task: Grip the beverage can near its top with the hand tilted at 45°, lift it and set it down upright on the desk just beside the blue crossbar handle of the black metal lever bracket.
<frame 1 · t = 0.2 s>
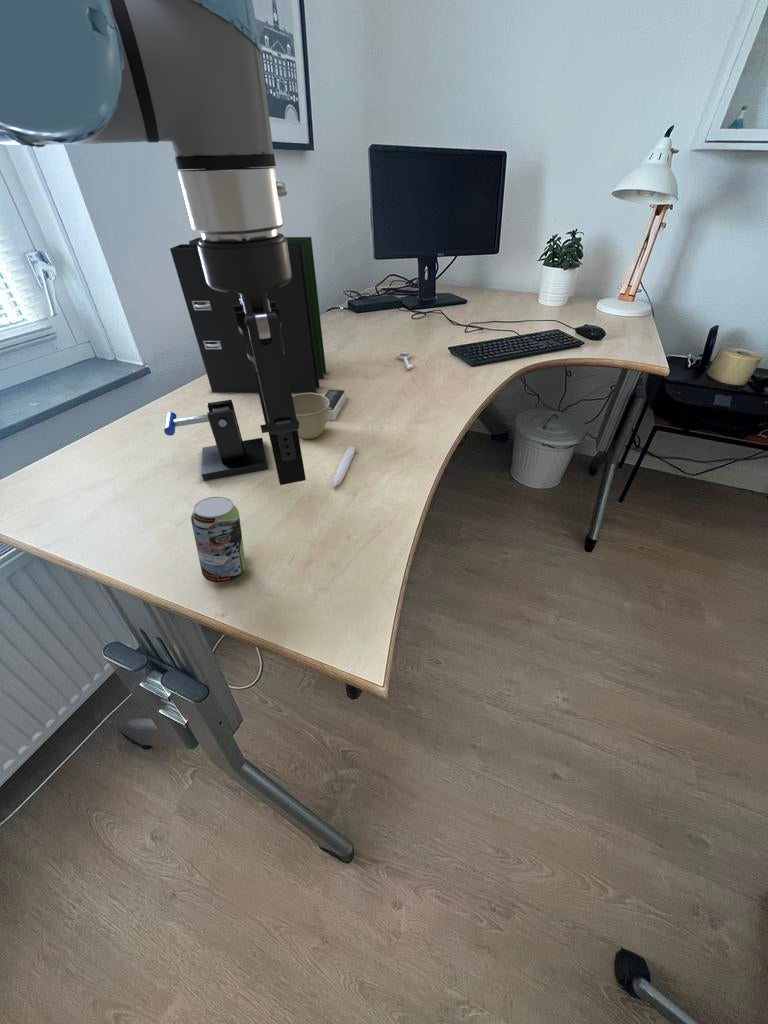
hand: (283, 449, 50), 21 cm above the table, tool pointing down, fingers open, 13 cm apart
binder: (271, 383, 115), on the table
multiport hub: (331, 409, 103), on the table
lever: (198, 419, 79), point 10 cm above the table, hinge at 0.0°
flower pot: (309, 434, 94), on the table
beverage can: (230, 571, 64), on the table
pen: (344, 470, 83), on the table
bracket: (235, 461, 86), on the table
key: (405, 362, 124), on the table
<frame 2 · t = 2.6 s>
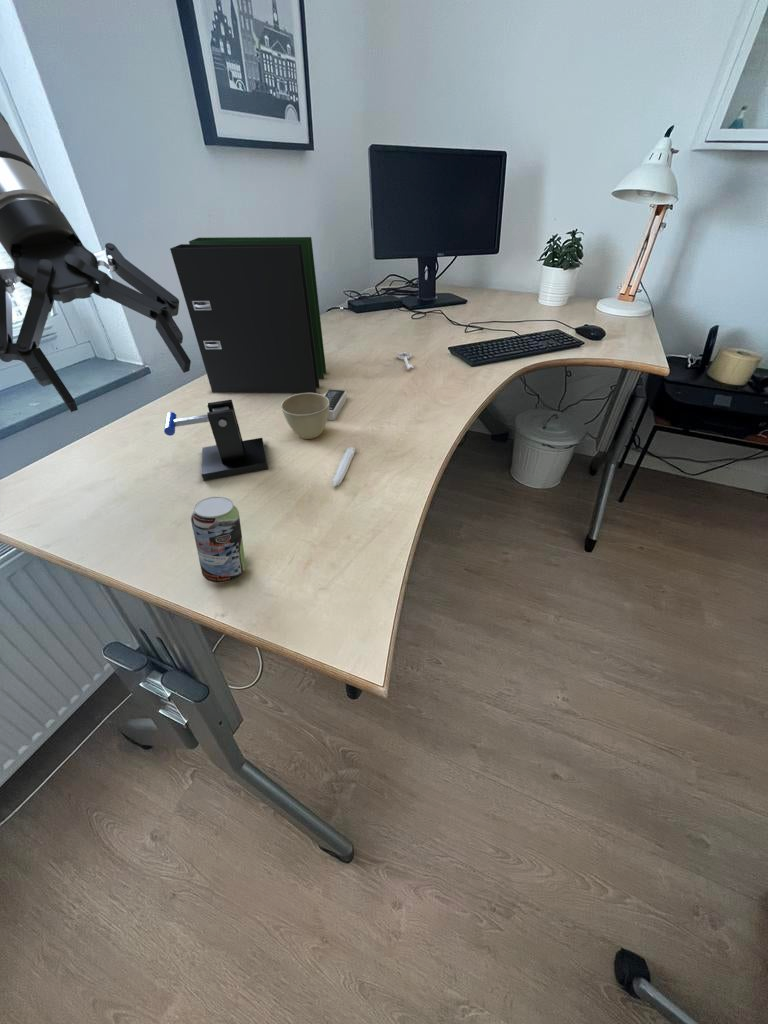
hand: (134, 385, 52), 26 cm above the table, tool tilted 45°, fingers open, 13 cm apart
nothing on the table moved.
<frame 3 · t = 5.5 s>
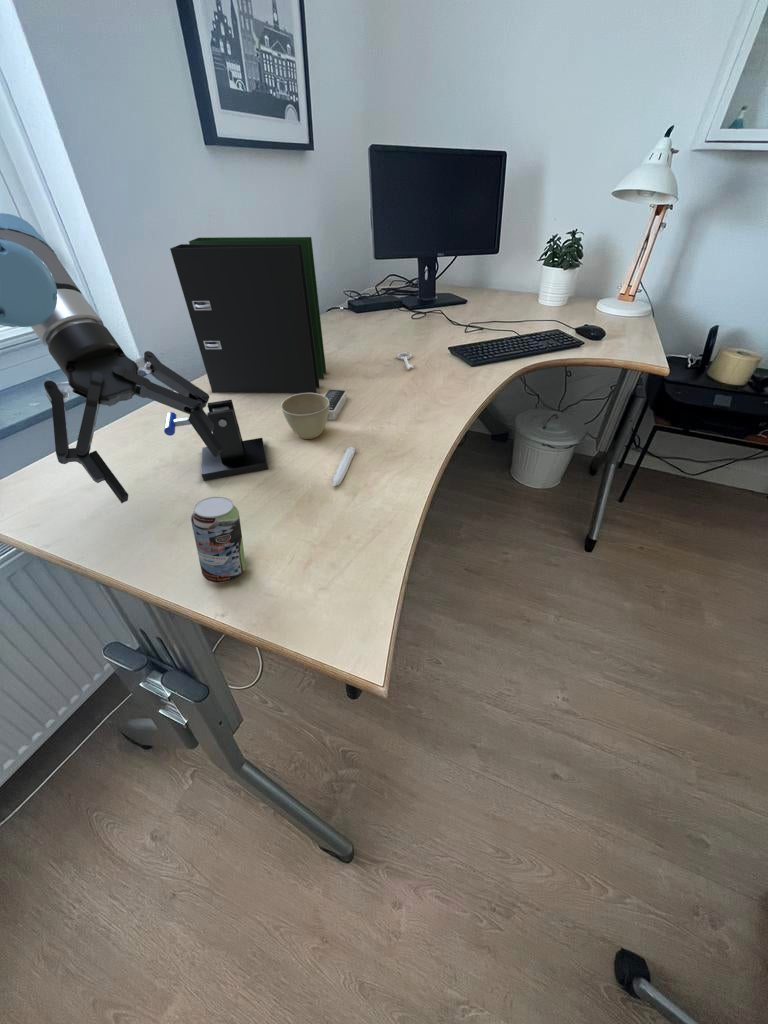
hand: (175, 475, 58), 14 cm above the table, tool tilted 45°, fingers open, 13 cm apart
nothing on the table moved.
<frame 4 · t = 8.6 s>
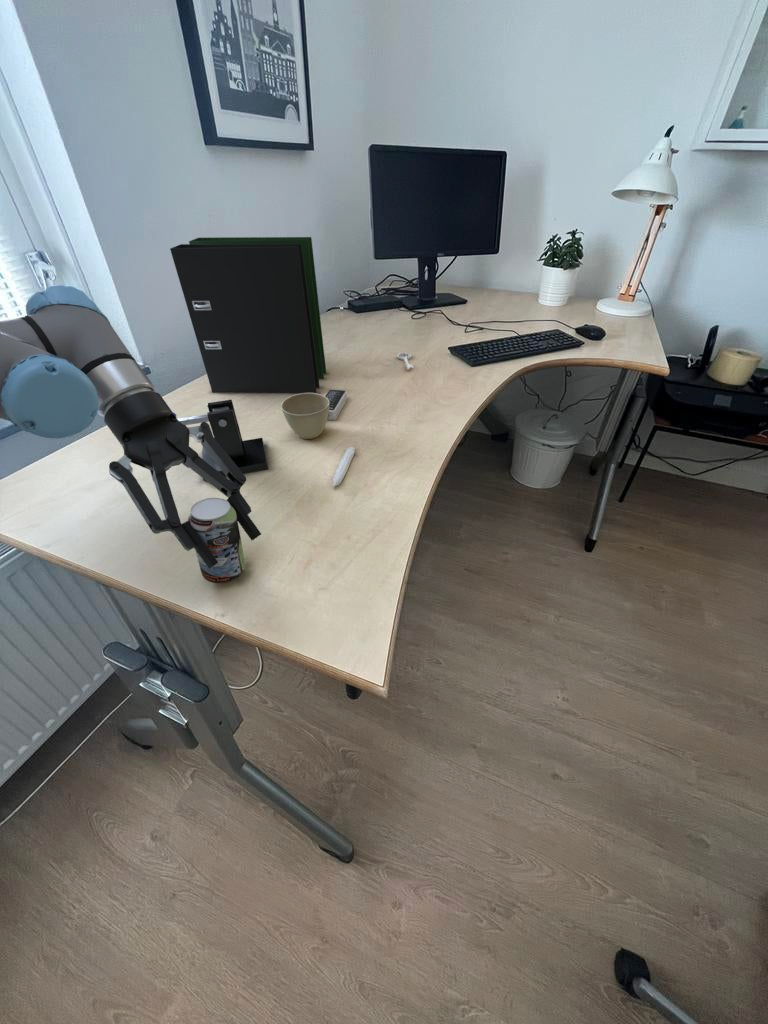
hand: (235, 550, 58), 6 cm above the table, tool tilted 45°, fingers closed on beverage can, 6 cm apart
beverage can: (230, 570, 64), on the table, touching gripper
everything else where it was.
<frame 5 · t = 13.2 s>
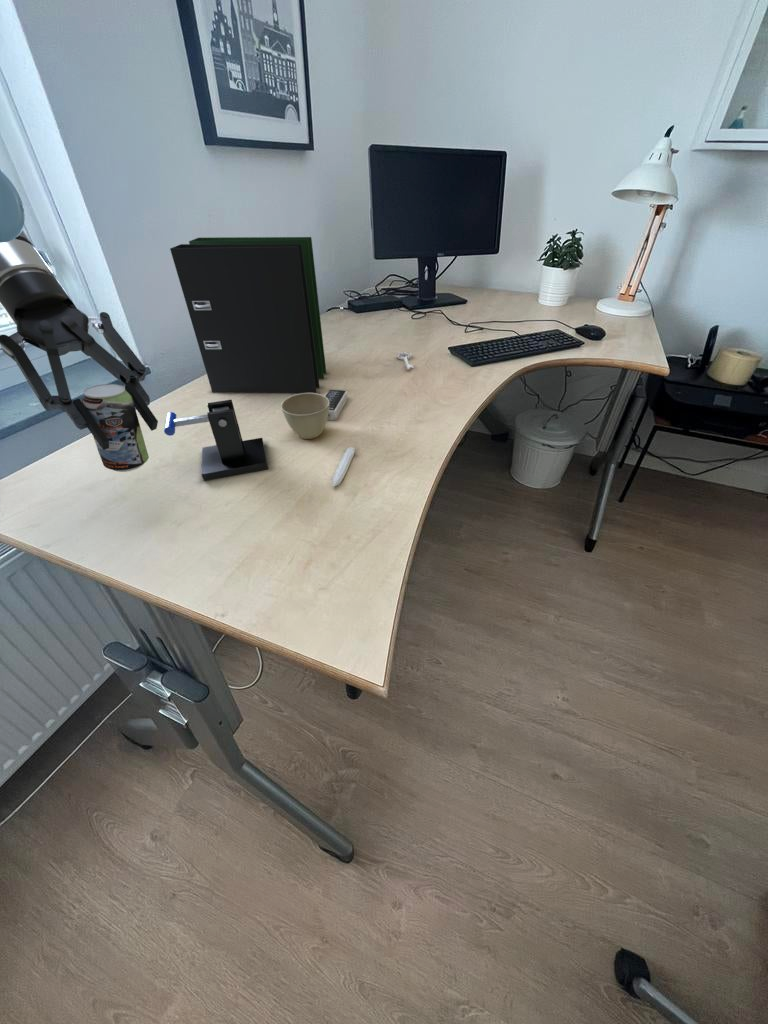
hand: (131, 435, 60), 17 cm above the table, tool tilted 45°, fingers closed on beverage can, 6 cm apart
beverage can: (134, 464, 66), point 11 cm above the table, touching gripper
everything else where it was.
when the fingers open (6 cm above the table, at t = 18.2 s): beverage can stays where it is, on the table.
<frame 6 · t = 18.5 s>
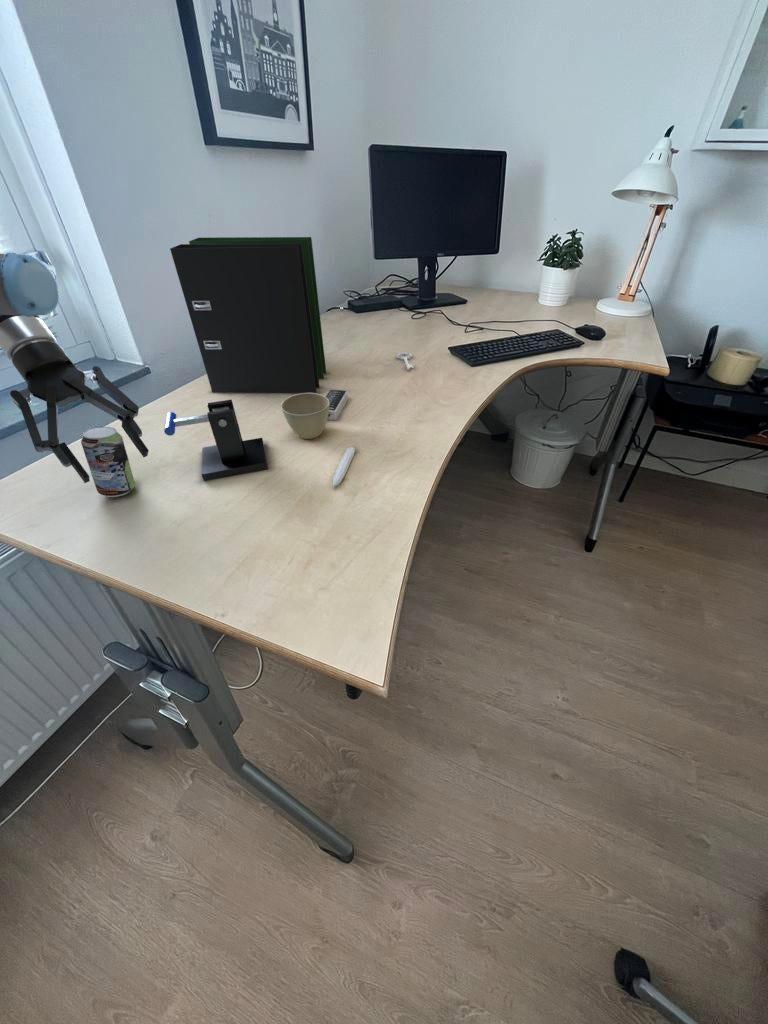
hand: (117, 466, 74), 6 cm above the table, tool tilted 45°, fingers open, 9 cm apart
beverage can: (123, 490, 80), on the table
everything else where it was.
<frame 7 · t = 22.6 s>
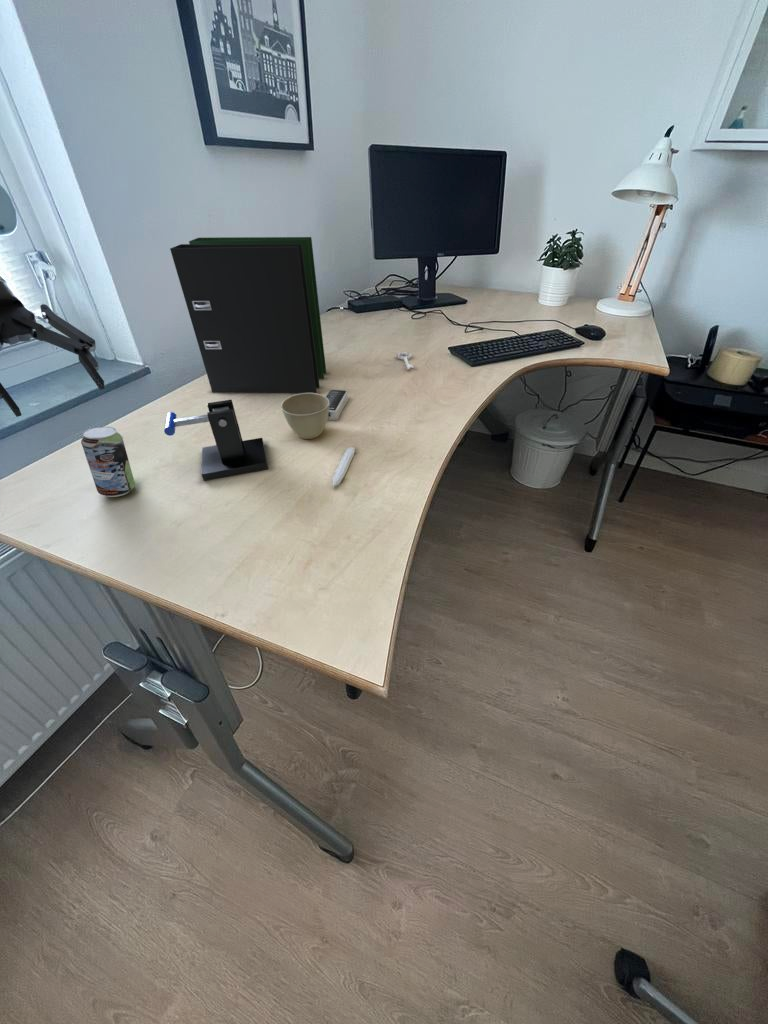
hand: (62, 398, 76), 15 cm above the table, tool tilted 45°, fingers open, 13 cm apart
nothing on the table moved.
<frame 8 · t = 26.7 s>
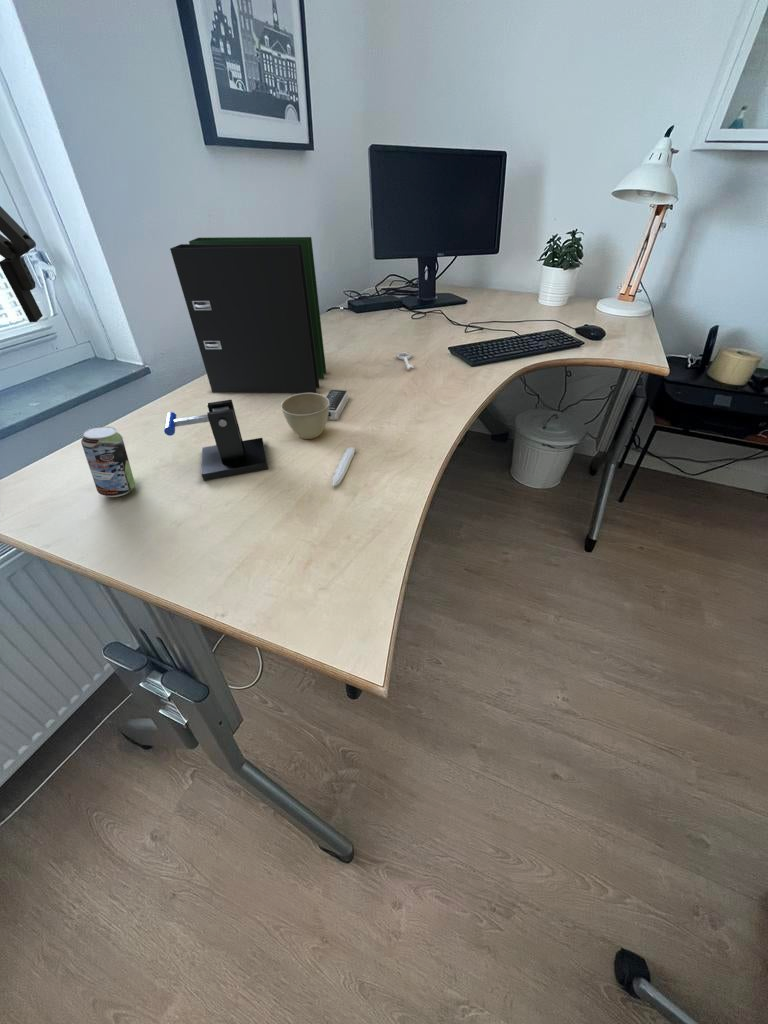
nothing on the table moved.
at the end: beverage can inside the target area on the table beside the bracket (0.3 cm from its centre), on the table; beverage can tilted 0° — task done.
